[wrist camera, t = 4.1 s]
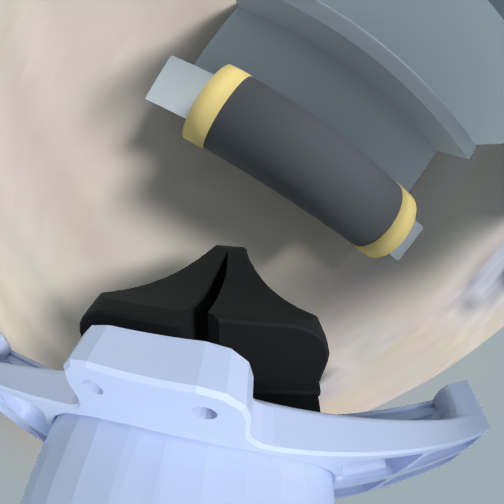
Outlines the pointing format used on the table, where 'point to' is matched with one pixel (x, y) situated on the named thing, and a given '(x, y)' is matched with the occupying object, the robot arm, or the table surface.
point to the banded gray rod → (300, 160)
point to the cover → (445, 52)
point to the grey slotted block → (327, 84)
